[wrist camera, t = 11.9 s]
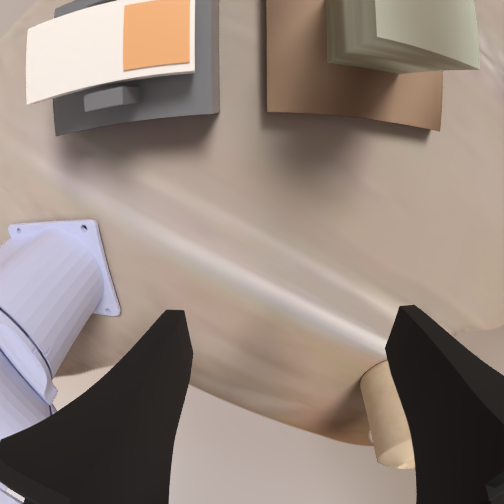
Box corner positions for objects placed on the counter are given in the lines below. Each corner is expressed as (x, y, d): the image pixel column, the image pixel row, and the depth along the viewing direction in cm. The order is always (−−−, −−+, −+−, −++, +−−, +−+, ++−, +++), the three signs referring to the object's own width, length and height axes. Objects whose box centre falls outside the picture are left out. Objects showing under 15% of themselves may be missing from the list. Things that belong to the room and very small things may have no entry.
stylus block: (327, 62, 12) (376, 36, 6) (325, -4, 10) (367, -63, 4) (398, 74, 12) (479, 69, 6) (396, 10, 10) (468, -24, 4)
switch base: (78, 129, 15) (33, 143, 11) (77, 15, 11) (34, 3, 7) (220, 112, 15) (204, 116, 11) (219, -17, 11) (205, -51, 7)
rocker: (36, 103, 10) (26, 104, 9) (37, 31, 8) (27, 28, 7) (194, 73, 11) (194, 70, 10) (195, -4, 9) (195, -12, 8)
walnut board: (266, 111, 15) (267, 111, 14) (265, -44, 10) (265, -51, 9) (431, 129, 14) (440, 131, 13) (428, -14, 10) (435, -18, 9)
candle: (348, 381, 25) (367, 476, 16) (395, 349, 23) (430, 445, 14) (377, 397, 27) (397, 478, 18) (420, 369, 25) (451, 451, 16)
